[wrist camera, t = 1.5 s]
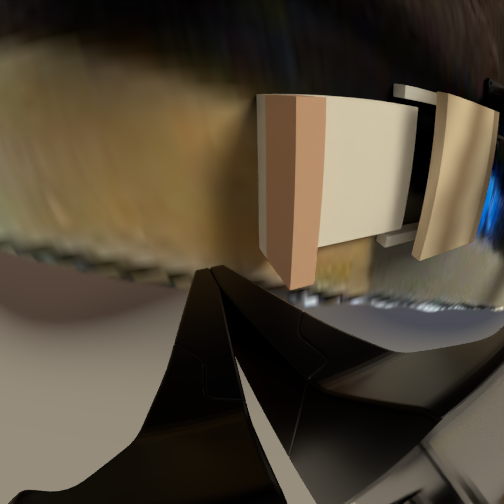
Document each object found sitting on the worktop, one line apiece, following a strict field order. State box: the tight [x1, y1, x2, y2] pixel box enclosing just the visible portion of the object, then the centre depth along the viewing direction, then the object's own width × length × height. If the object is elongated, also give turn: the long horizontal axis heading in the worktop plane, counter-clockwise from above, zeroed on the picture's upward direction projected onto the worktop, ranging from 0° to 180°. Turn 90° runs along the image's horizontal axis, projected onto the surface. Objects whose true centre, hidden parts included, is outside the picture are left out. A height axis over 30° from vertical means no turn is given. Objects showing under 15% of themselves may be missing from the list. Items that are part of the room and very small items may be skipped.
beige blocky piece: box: [256, 94, 418, 290], centre depth 17 cm, size 12×10×5 cm
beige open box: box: [376, 84, 499, 261], centre depth 20 cm, size 11×13×4 cm
